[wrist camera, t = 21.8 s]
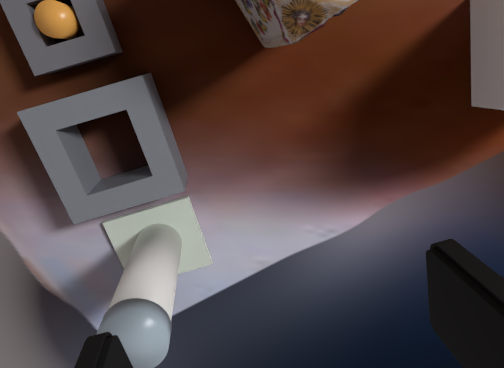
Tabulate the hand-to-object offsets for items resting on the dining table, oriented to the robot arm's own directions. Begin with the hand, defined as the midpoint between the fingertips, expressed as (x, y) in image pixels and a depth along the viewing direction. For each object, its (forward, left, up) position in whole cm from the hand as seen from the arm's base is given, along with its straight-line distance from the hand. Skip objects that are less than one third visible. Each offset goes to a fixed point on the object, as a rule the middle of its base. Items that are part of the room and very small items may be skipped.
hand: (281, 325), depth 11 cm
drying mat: (+11, -12, -31) cm, 35 cm away
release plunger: (-14, -12, -31) cm, 36 cm away
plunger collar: (-14, -12, -31) cm, 36 cm away
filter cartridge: (+10, -12, -30) cm, 34 cm away
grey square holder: (-2, -12, -31) cm, 33 cm away
